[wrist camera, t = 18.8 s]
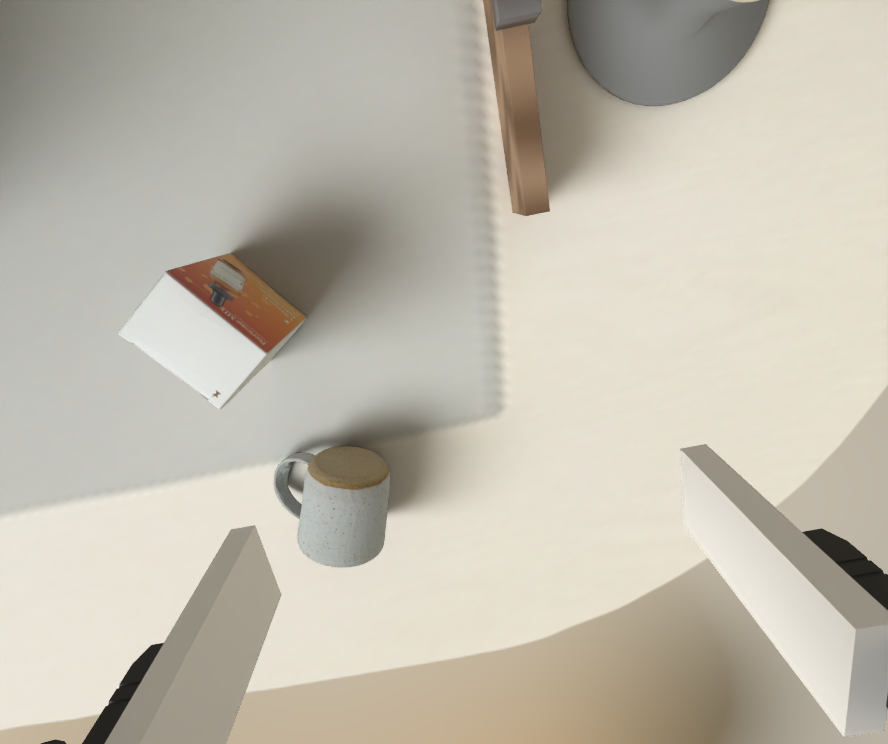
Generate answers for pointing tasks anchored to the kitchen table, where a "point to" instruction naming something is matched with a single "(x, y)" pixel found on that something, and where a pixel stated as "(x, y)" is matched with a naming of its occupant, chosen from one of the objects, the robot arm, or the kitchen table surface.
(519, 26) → the board
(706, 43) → the round pad
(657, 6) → the beer glass
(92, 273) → the kitchen table surface
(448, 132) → the kitchen table surface
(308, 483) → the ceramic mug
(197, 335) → the small box
